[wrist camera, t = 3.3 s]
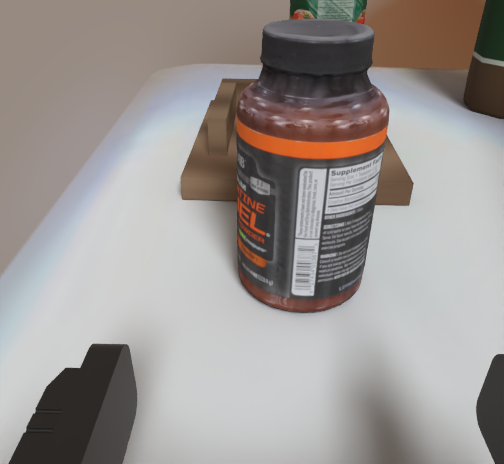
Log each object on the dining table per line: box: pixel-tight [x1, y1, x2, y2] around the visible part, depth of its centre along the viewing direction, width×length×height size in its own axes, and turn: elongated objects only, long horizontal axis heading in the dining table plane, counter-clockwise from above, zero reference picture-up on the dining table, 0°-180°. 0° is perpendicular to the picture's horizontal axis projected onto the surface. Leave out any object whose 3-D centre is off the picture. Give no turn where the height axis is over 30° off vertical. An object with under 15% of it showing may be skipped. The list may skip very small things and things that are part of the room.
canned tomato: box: [290, 0, 367, 24], centre depth 50 cm, size 8×8×11 cm
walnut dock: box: [181, 79, 414, 205], centre depth 35 cm, size 16×14×4 cm
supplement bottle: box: [236, 19, 389, 312], centre depth 20 cm, size 6×6×11 cm
